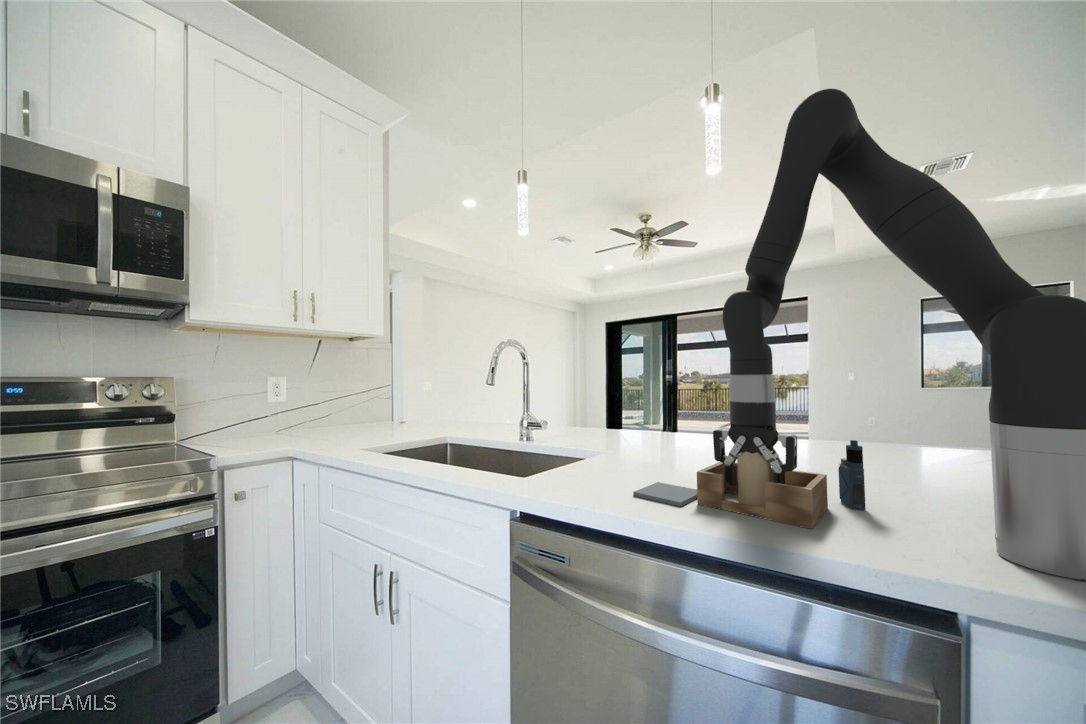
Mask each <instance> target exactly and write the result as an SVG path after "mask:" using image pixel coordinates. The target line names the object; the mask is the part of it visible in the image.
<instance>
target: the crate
mask: <svg viewBox="0 0 1086 724" xmlns="http://www.w3.org/2000/svg"><path fill="white" fill-rule="evenodd" d="M735 465H736V473H737V484H736V485H735V486H734V487H733V486H729V483H728V482H727V481H726V469H725V465H724V464H723V463H722V462H720V461H717V462H716V463H714V464H712V465H710V466H707V467H704V468H701V469H700V470H697V471H696V489H697V499H696V500H697V501H696V502H697V503H698V504H697V505H699V504H702V505H701V506H704V505H706V506H705V507H708V506H710V507H709V508H713V507H715V508H714V509H718V508H720V509H719V510H722V509H725V510H724V511H727V510H730V511H729V512H731V511H735V512H734V513H736V512H739V513H738V514H740V513H744V514H743V515H745V514H748V515H747V516H750V515H753V516H752V517H754V516H757V517H756V518H759V517H762V518H761V519H763V518H766V519H765V520H768V519H770V520H769V521H773V522H777V521H778V523H783V524H787V525H792V526H797V527H800V526H802V528H805V527H806V529H809V528H811V529H810V530H813V529H814V527H815V526H816V525H817V524H816V523H818V522H819V521H820V519H821V518H822V517H823V516H824V515H825V513H826V512H827V511H828V509H829V506H828V501H829V500H828V479H827V478H828V477H827V475H828V474H825V473H818V472H811V471H803V470H802V471H801V470H796V469H794V470H792V471H787V472H785V484H780V483H774V481H773V473H774V472H775V471H774V469H773V468H772V466H771V475H772V482H767V481H766V482H765V508H763V507H758V506H753V505H748V504H743V503H739V501H738V502H737V501H733V500H727V499H725V493H727V492H726V491H728V493H733V492H734V493H733V494H738V465H737V461H736V462H735ZM812 528H813V529H812Z"/></svg>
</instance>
